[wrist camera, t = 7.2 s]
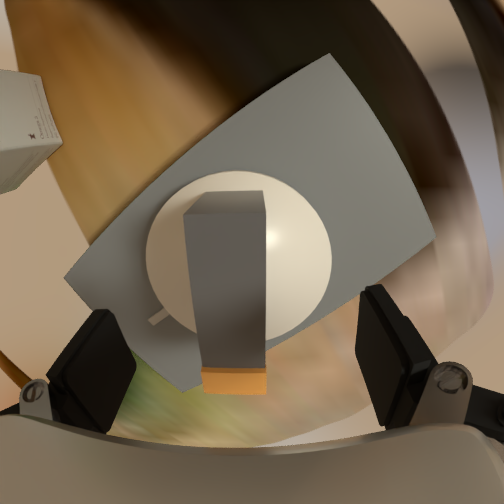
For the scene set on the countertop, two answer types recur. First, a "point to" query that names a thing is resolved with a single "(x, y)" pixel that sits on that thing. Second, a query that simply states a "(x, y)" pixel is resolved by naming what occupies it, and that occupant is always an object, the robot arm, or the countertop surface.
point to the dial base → (292, 173)
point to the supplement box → (23, 128)
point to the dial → (238, 270)
